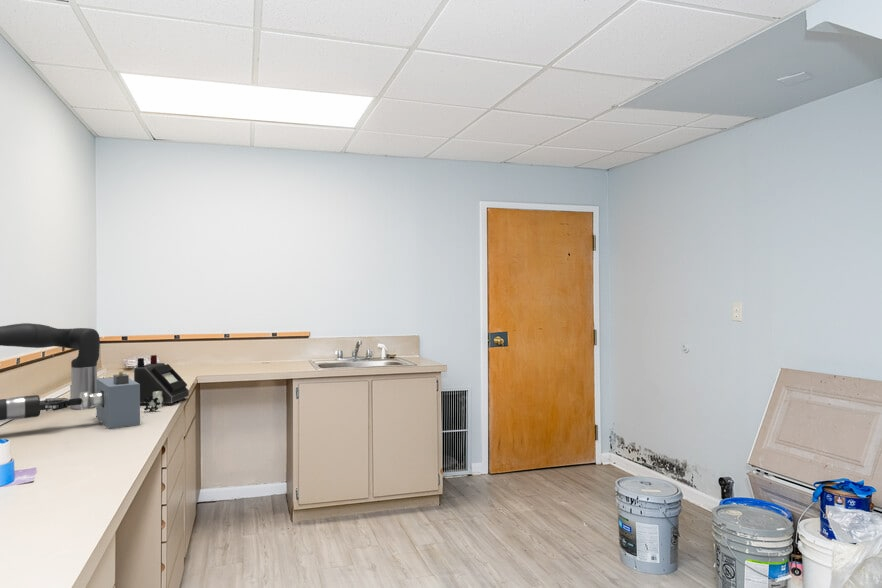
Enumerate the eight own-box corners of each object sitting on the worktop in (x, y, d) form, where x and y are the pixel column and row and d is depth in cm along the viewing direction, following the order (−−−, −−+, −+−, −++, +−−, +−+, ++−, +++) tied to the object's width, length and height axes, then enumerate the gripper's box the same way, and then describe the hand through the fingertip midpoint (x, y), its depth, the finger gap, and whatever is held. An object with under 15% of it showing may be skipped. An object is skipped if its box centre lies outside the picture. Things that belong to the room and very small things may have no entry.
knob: (79, 408, 214) (79, 391, 214) (108, 405, 220) (108, 388, 220) (82, 411, 210) (82, 393, 210) (111, 407, 216) (111, 390, 215)
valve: (150, 406, 247) (142, 412, 235) (150, 391, 247) (142, 396, 235) (167, 406, 248) (159, 411, 236) (167, 390, 248) (159, 395, 236)
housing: (96, 417, 226) (96, 378, 226) (125, 413, 232) (125, 376, 232) (109, 428, 207) (109, 386, 207) (140, 424, 214) (139, 383, 214)
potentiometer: (113, 382, 216) (113, 369, 216) (125, 381, 218) (125, 368, 218) (116, 384, 212) (116, 370, 212) (128, 383, 214) (128, 369, 214)
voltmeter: (172, 406, 248) (172, 359, 248) (134, 406, 248) (133, 359, 248) (189, 398, 264) (189, 354, 264) (153, 398, 264) (153, 354, 264)
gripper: (24, 399, 196) (84, 393, 207) (20, 393, 206) (78, 388, 217) (24, 421, 196) (84, 414, 207) (21, 415, 206) (78, 408, 217)
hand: (81, 401), depth 212 cm, fingers closed
